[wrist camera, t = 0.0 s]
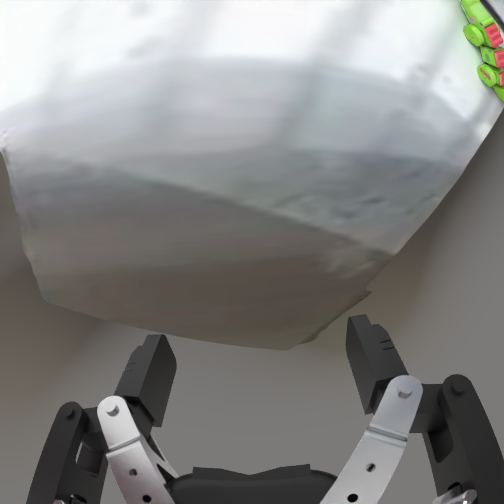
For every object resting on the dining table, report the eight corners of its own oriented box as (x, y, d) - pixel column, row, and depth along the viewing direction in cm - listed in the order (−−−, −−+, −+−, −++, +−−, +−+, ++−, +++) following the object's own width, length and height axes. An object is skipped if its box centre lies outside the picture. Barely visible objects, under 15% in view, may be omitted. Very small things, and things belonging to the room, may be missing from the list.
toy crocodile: (446, -2, 17) (472, 1, 13) (470, -9, 14) (496, -5, 10) (484, 101, 28) (507, 116, 24) (504, 90, 25) (526, 104, 21)
